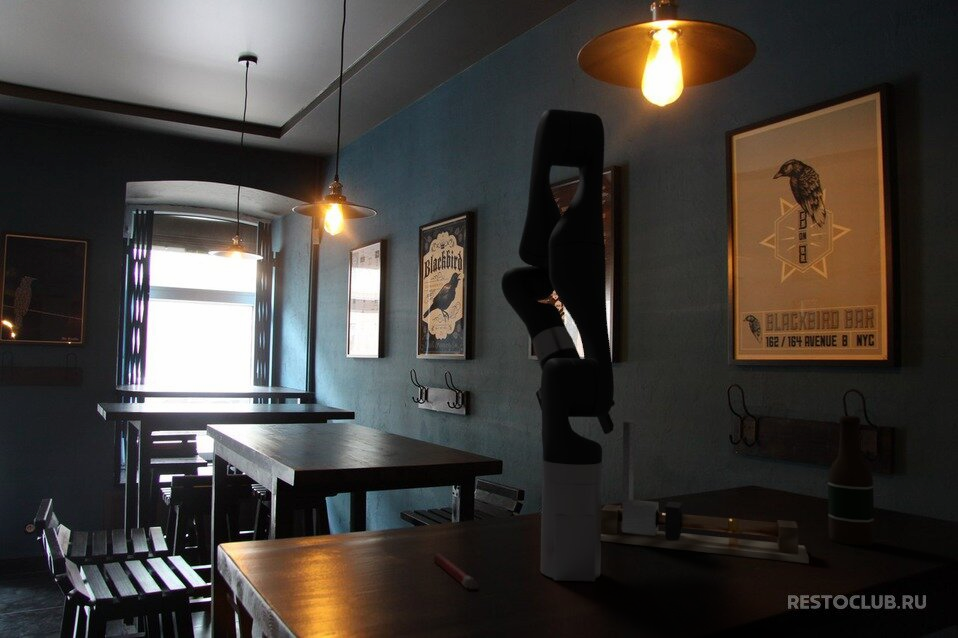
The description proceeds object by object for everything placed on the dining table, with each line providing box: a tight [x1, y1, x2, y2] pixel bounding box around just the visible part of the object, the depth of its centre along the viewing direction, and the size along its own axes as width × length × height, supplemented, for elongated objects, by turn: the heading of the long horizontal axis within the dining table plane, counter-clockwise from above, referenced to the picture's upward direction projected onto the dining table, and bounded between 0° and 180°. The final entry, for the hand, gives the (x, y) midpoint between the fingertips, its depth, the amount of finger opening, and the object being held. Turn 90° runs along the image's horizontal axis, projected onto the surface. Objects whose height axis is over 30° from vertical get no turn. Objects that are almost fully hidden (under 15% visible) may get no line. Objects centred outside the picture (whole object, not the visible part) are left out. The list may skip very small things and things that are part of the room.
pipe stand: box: [601, 504, 810, 564], centre depth 130 cm, size 37×9×5 cm, turn 70°
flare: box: [433, 552, 479, 590], centre depth 108 cm, size 2×15×2 cm, turn 22°
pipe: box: [618, 508, 779, 538], centre depth 130 cm, size 32×3×3 cm, turn 70°
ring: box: [664, 501, 682, 539], centre depth 132 cm, size 2×6×6 cm, turn 160°
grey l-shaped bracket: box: [621, 419, 659, 535], centre depth 134 cm, size 6×6×20 cm
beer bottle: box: [827, 415, 875, 547], centre depth 137 cm, size 8×8×24 cm
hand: (590, 435), depth 126 cm, fingers open, 8 cm apart
